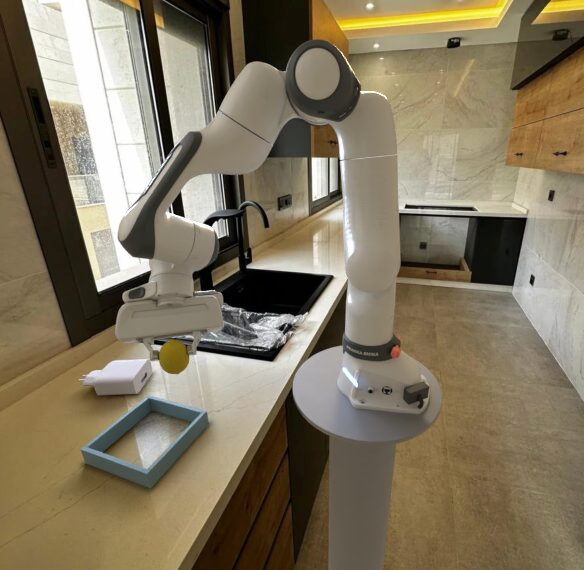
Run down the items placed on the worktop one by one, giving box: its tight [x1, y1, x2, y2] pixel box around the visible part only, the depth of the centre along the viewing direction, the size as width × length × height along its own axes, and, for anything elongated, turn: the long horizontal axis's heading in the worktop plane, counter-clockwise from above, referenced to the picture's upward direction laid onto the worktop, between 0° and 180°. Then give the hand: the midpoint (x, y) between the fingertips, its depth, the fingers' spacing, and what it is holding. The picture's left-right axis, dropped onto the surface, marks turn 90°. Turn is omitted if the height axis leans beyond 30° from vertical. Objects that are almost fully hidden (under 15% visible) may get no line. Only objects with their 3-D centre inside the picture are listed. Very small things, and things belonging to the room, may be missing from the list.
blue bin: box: [80, 394, 210, 489], centre depth 65 cm, size 16×16×4 cm
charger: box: [77, 358, 153, 396], centre depth 81 cm, size 5×9×15 cm
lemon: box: [158, 339, 190, 375], centre depth 66 cm, size 6×6×8 cm
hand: (173, 357), depth 65 cm, fingers closed on lemon, 5 cm apart
